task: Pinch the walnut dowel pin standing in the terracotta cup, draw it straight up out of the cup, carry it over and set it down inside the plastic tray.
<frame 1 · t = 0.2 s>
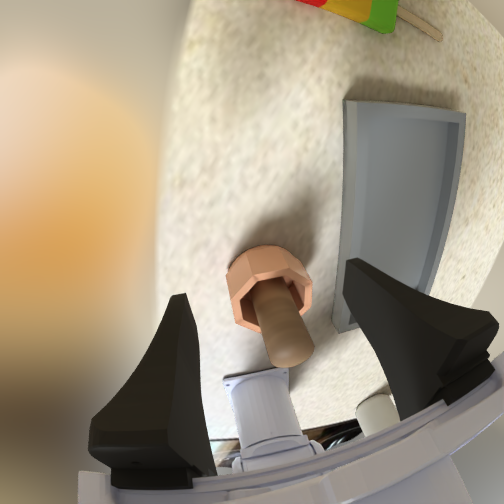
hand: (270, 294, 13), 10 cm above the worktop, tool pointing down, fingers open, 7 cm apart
can: (370, 401, 48), on the worktop
popsicle: (366, 0, 14), on the worktop
pin: (264, 279, 24), resting on cup
cup: (263, 276, 25), on the worktop
tray: (395, 221, 25), on the worktop
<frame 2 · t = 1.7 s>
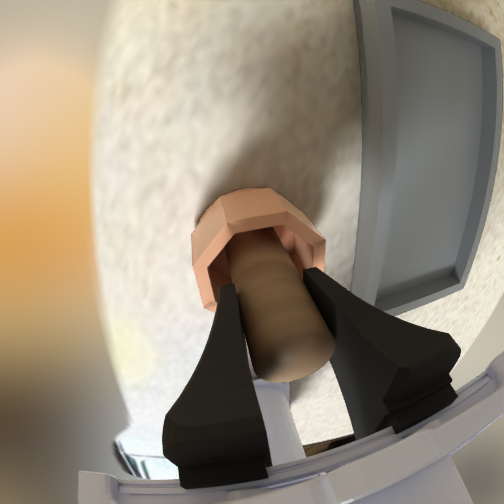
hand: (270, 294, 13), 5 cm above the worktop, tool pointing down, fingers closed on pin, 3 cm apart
pin: (251, 243, 16), resting on cup, touching gripper
cup: (249, 239, 17), on the worktop
tray: (431, 168, 16), on the worktop
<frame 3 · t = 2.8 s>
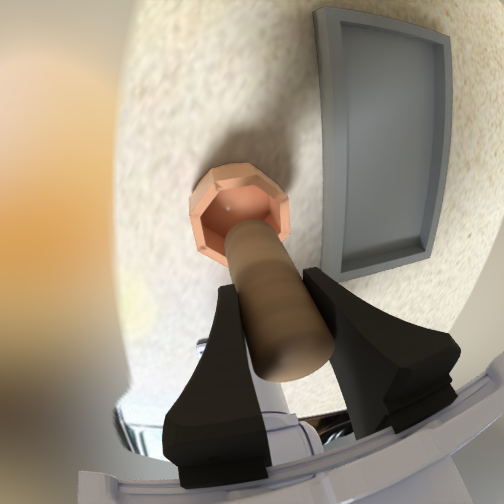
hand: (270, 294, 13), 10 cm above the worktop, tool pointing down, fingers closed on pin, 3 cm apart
pin: (251, 243, 16), point 6 cm above the worktop, touching gripper
cup: (234, 203, 21), on the worktop
tray: (386, 149, 21), on the worktop
when the fingers open (6 cm above the worktop, at t = 4.8 s): pin stays where it is, resting on tray.
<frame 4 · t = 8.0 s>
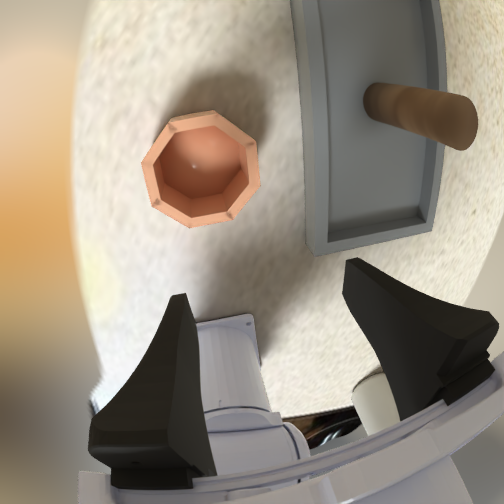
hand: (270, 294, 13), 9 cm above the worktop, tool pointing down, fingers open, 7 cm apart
can: (369, 383, 40), on the worktop
pin: (380, 102, 17), point 1 cm above the worktop, touching tray
cup: (200, 158, 18), on the worktop
tray: (375, 102, 18), on the worktop
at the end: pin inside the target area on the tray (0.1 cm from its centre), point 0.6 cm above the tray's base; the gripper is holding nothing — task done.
